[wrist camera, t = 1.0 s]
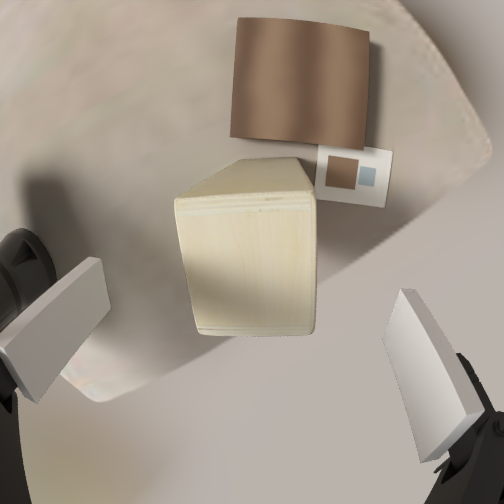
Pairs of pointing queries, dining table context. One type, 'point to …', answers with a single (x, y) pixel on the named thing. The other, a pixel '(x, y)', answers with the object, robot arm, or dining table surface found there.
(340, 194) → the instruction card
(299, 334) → the toy refrigerator
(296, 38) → the walnut plinth
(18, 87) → the dining table surface
